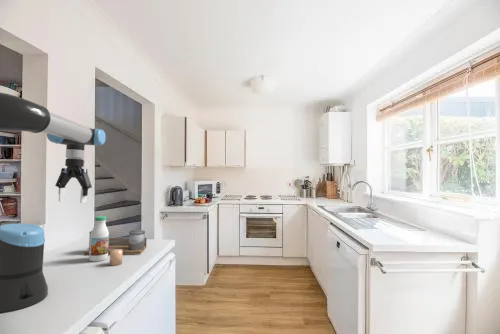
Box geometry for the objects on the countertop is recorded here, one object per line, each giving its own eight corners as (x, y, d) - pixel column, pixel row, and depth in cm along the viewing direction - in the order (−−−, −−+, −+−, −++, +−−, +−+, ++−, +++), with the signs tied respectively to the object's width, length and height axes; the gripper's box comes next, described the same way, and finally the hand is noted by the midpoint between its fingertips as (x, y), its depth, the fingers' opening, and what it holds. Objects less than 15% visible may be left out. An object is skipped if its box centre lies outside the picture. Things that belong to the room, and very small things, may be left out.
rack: (141, 254, 132) (141, 234, 133) (83, 255, 128) (84, 234, 129) (147, 247, 145) (148, 228, 145) (95, 247, 141) (96, 228, 141)
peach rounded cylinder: (119, 265, 116) (120, 252, 116) (107, 266, 115) (108, 252, 115) (123, 262, 121) (124, 248, 121) (111, 262, 120) (112, 249, 120)
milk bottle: (84, 260, 121) (87, 217, 121) (99, 256, 128) (101, 214, 129) (98, 262, 118) (100, 218, 119) (111, 257, 126) (113, 216, 126)
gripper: (101, 159, 129) (99, 202, 128) (63, 159, 136) (60, 200, 135) (88, 158, 122) (85, 204, 121) (48, 157, 129) (45, 201, 128)
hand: (72, 202), depth 128 cm, fingers open, 13 cm apart
